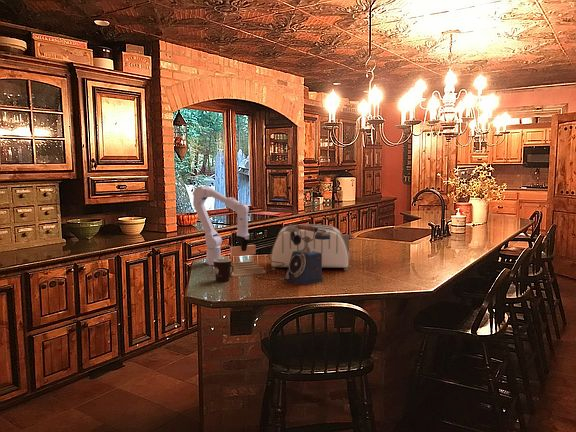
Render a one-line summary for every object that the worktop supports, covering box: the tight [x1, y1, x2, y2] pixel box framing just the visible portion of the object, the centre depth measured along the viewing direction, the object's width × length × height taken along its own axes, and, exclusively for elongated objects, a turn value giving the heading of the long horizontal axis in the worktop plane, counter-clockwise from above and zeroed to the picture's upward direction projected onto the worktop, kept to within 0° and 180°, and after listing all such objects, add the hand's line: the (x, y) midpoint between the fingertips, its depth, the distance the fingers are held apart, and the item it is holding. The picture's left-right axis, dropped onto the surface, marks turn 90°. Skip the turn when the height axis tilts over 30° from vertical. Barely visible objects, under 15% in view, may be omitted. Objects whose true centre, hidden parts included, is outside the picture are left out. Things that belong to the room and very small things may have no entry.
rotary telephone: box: [255, 224, 330, 286], centre depth 232 cm, size 41×22×27 cm, turn 38°
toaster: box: [270, 224, 354, 271], centre depth 261 cm, size 21×45×22 cm, turn 88°
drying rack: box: [230, 260, 267, 278], centre depth 250 cm, size 17×18×3 cm
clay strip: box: [229, 244, 257, 258], centre depth 263 cm, size 2×14×5 cm, turn 116°
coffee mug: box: [213, 258, 234, 283], centre depth 229 cm, size 12×9×10 cm
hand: (242, 250), depth 263 cm, fingers closed on clay strip, 2 cm apart
